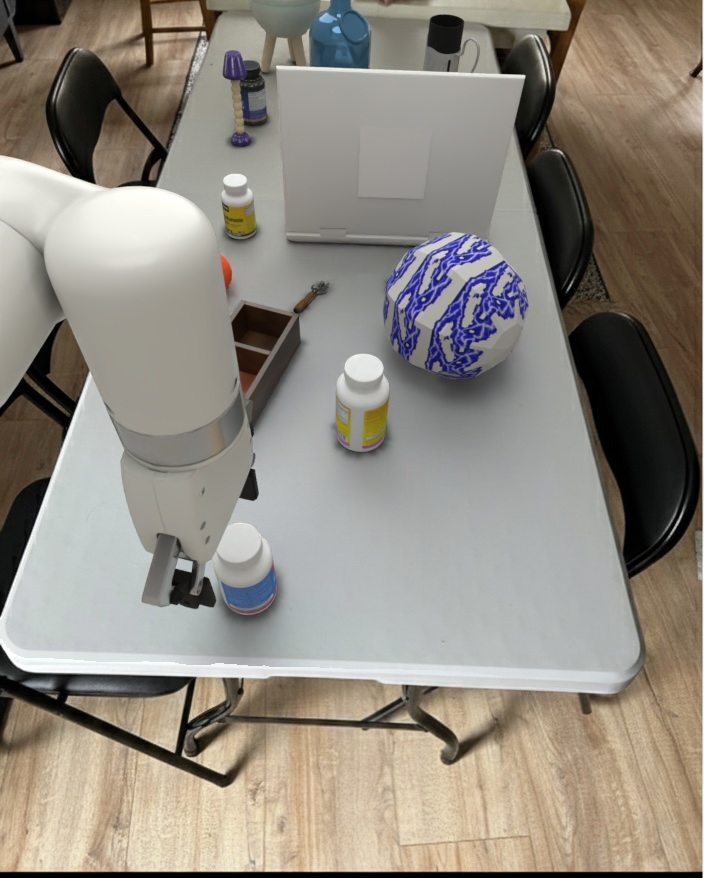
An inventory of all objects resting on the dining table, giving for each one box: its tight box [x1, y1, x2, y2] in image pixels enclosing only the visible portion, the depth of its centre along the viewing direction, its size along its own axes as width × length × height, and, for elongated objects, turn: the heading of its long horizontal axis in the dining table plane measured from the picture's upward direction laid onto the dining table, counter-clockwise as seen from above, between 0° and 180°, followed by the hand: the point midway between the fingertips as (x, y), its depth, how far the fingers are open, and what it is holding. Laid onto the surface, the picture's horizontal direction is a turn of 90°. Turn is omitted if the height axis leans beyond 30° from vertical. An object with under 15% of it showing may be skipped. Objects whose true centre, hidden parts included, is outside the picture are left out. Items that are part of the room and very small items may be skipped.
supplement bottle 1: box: [220, 173, 257, 240], centre depth 106 cm, size 5×5×10 cm
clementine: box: [220, 253, 233, 290], centre depth 97 cm, size 8×7×7 cm
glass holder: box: [422, 13, 481, 73], centre depth 138 cm, size 9×14×15 cm, turn 43°
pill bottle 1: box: [239, 59, 268, 126], centre depth 131 cm, size 6×6×11 cm
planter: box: [248, 0, 321, 74], centre depth 142 cm, size 16×16×22 cm
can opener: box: [292, 280, 330, 314], centre depth 99 cm, size 9×2×1 cm, turn 144°
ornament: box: [382, 232, 529, 380], centre depth 86 cm, size 20×20×20 cm
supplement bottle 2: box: [335, 353, 391, 453], centre depth 78 cm, size 7×7×13 cm
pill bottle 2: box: [211, 522, 278, 616], centre depth 65 cm, size 6×6×11 cm
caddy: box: [230, 299, 301, 427], centre depth 87 cm, size 9×17×6 cm, turn 161°
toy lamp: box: [222, 49, 252, 147], centre depth 123 cm, size 5×5×17 cm
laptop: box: [275, 65, 526, 247], centre depth 105 cm, size 35×26×28 cm
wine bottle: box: [308, 0, 372, 69], centre depth 129 cm, size 14×13×30 cm
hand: (219, 544), depth 50 cm, fingers open, 9 cm apart
